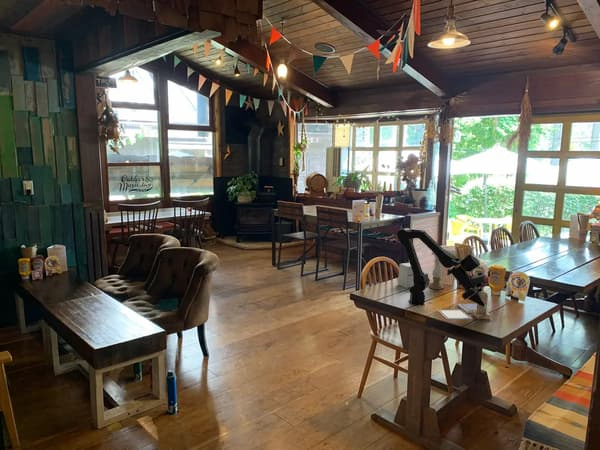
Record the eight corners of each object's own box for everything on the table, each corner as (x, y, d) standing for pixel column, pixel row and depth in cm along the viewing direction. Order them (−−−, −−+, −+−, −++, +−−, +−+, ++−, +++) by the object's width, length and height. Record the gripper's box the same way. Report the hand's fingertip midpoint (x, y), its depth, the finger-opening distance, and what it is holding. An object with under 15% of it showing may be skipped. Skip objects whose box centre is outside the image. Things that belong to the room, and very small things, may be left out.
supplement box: (406, 288, 247) (407, 266, 245) (397, 284, 254) (399, 263, 252) (416, 286, 251) (417, 265, 249) (407, 283, 257) (409, 262, 255)
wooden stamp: (477, 320, 202) (480, 293, 200) (471, 315, 208) (474, 289, 206) (490, 319, 203) (492, 293, 201) (483, 315, 209) (486, 289, 207)
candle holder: (425, 285, 255) (428, 250, 251) (440, 284, 256) (442, 250, 252) (431, 289, 246) (434, 254, 243) (446, 289, 247) (449, 254, 244)
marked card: (447, 319, 202) (447, 318, 202) (437, 310, 214) (437, 309, 214) (472, 319, 203) (472, 318, 203) (460, 310, 215) (460, 309, 215)
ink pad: (467, 313, 210) (467, 310, 210) (458, 306, 220) (458, 303, 220) (487, 313, 211) (487, 310, 211) (477, 306, 221) (477, 303, 221)
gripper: (471, 272, 196) (495, 300, 192) (481, 263, 211) (503, 290, 207) (452, 285, 202) (475, 313, 197) (462, 276, 217) (484, 302, 213)
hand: (485, 304), depth 204 cm, fingers closed on wooden stamp, 4 cm apart
